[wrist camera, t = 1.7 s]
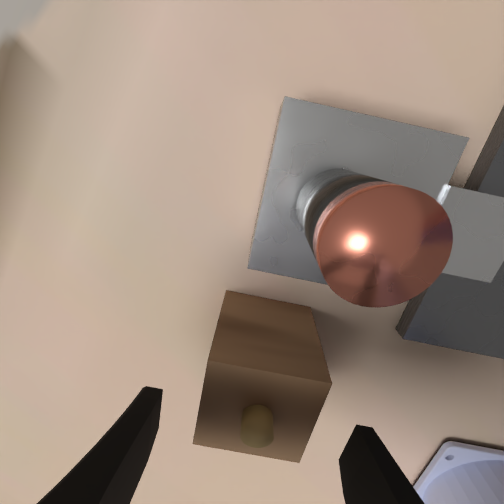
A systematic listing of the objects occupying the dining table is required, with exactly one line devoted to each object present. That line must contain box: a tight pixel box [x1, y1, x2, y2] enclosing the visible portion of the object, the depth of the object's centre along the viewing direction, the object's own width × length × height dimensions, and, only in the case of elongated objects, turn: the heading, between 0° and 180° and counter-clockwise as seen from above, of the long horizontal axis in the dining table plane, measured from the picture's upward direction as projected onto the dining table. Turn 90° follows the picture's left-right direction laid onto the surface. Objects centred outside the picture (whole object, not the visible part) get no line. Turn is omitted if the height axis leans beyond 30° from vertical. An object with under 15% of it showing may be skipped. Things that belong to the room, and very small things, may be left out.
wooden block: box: [193, 290, 332, 463], centre depth 12 cm, size 4×4×6 cm
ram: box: [248, 96, 504, 307], centre depth 9 cm, size 6×9×7 cm, turn 79°
